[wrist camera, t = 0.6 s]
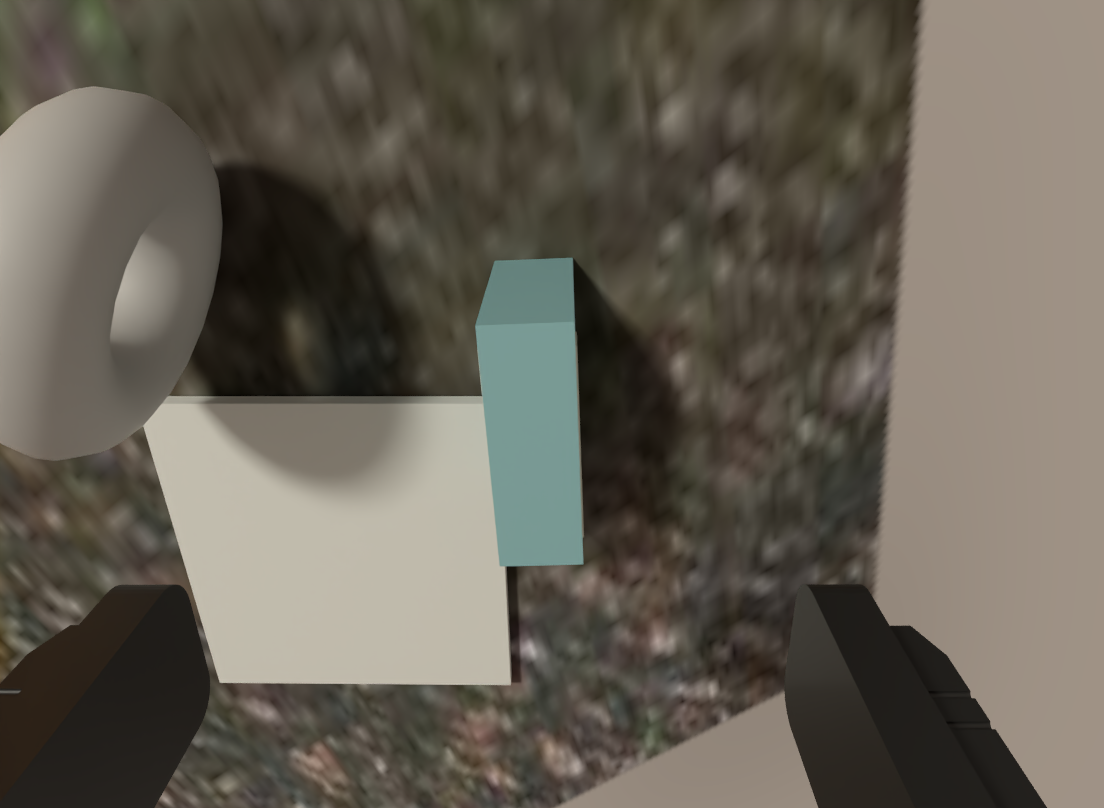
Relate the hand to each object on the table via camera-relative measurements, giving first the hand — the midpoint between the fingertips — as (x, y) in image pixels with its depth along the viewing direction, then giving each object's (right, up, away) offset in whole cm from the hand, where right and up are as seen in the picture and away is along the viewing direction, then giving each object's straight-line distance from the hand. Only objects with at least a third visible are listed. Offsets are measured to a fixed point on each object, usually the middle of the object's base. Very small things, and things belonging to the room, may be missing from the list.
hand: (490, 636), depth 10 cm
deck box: (0, +4, +17) cm, 17 cm away
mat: (-8, -3, +20) cm, 22 cm away
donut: (-11, +9, +15) cm, 21 cm away
